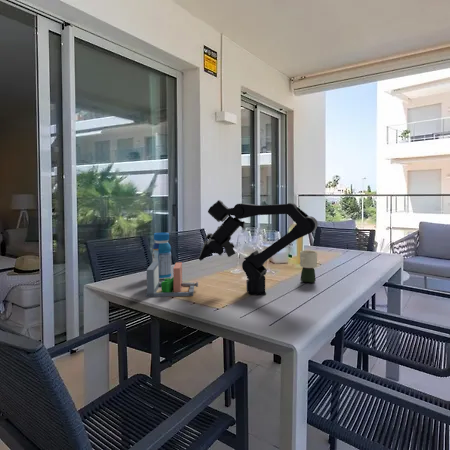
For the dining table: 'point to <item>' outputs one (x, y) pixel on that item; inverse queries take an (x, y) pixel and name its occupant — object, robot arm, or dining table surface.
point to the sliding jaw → (180, 278)
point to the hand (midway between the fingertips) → (199, 259)
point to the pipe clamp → (167, 285)
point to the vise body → (154, 283)
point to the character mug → (308, 265)
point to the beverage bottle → (162, 254)
